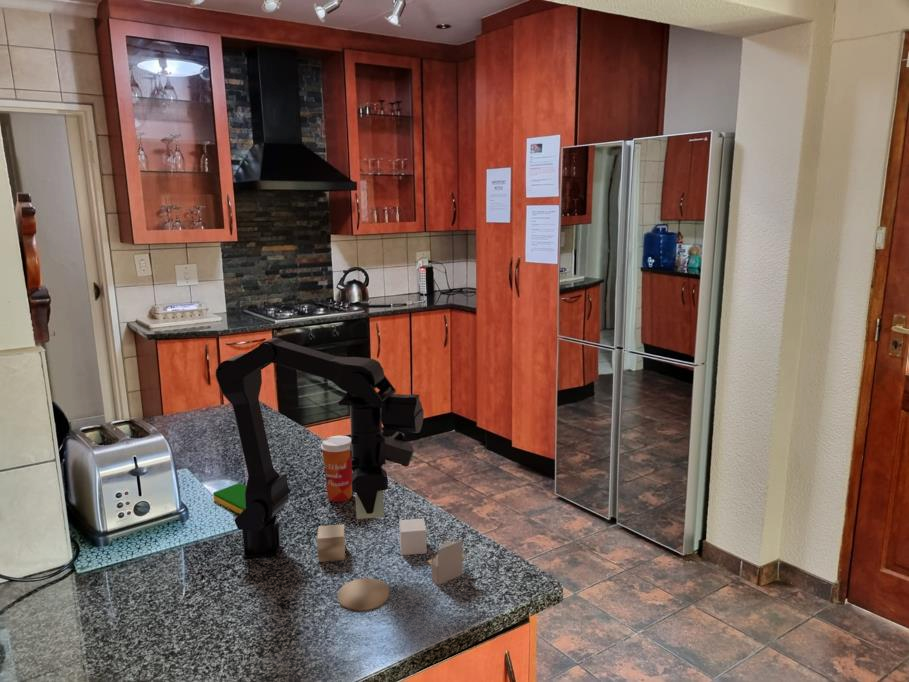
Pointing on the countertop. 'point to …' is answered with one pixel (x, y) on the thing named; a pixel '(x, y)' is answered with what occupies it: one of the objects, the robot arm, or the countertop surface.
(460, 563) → the architectural model
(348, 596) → the coaster
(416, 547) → the offwhite block
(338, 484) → the paper cup
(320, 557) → the maple block
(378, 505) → the sage block
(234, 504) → the dish sponge
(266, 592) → the countertop surface
